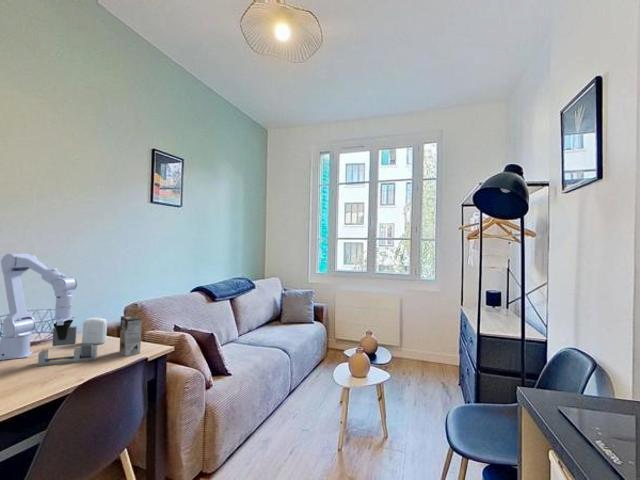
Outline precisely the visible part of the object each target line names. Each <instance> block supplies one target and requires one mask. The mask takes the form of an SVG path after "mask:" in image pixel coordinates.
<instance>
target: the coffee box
mask: <svg viewBox="0 0 640 480" xmlns="http://www.w3.org/2000/svg"><path fill="white" fill-rule="evenodd" d="M142 321H143V320H142V317H140V316H138V315H136V314H133V315H123V316H120V325H119V326H120V328H119V329H120V330H119V331H120V332H119V352H120V353H121V354H122V355H124V356H125V357H128V356H133V355H138V354H137V353H139V354H140V353H141V345H142V344H141V342H142V325H143V324H142V323H143V322H142Z"/></svg>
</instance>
